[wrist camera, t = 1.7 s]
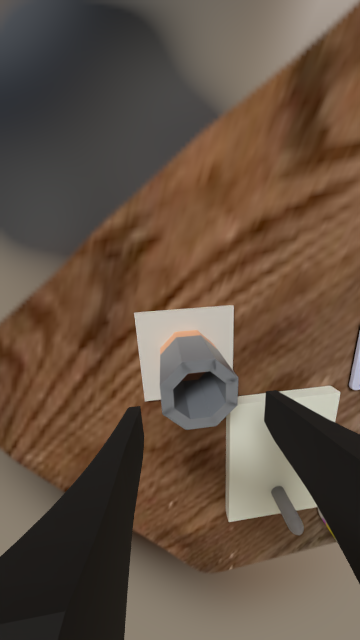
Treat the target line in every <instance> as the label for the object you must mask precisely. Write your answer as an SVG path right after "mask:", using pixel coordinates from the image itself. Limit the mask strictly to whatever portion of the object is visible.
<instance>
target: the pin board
mask: <svg viewBox="0 0 360 640" xmlns="http://www.w3.org/2000/svg"><path fill="white" fill-rule="evenodd" d="M280 393H282V394H284V395H286V396H288V397H289V398H291V399H293V400H295V401H297V402H298V403H300V404H302V405H304V406H305V407H307V408H309V409H311V410H312V411H314V412H316V413H318V414H320V415H322V416H323V417H325V418H327V419H329V420H331V421H333V422H335V419H336V414H337V409H338V403H339V398H340V393H341V392H339V391H338V390H336V389H335V388H333V387H332V386H324V387H315V388H306V389H298V390H289V391H280ZM265 398H266V393H263V394H254V395H246V396H238V405H237V406H236V407H235V408H234V409H233V410H232V411H231V412H230V413H229V414H228V415H227V416H226V513H227V517H228V521H229V522H232V521H238V520H244V519H250V518H256V517H262V516H267V515H273V514H279V513H281V514H282V516H283V518H284V520H285V522H286V524H287V526H288V528H289V530H290V531H291V532H292V533H293V534H295V535H301V534H302V533H303V531H304V525H303V522H302V520H301V518H300V517H299V515H298V513H297V510H303V509H308V508H314V507H317V505H316V503H315V501H314V500H313V498H312V496H311V495H310V493H309V492H308V490H307V488H306V487H305V485H304V484H303V482H302V481H301V479H300V478H299V476H298V475H297V473H296V472H295V471H294V469H293V468H292V466H291V465H290V463H289V462H288V460H287V459H286V457H285V456H284V454H283V453H282V451H281V450H280V448H279V447H278V445H277V444H276V442H275V441H274V439H273V437H272V436H271V434H270V432H269V430H268V428H267V426H266V424H265V422H264V412H265Z"/></svg>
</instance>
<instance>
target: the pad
mask: <svg viewBox="0 0 360 640" xmlns="http://www.w3.org/2000/svg"><path fill="white" fill-rule="evenodd" d="M134 315H135V323H136V332H137V340H138V348H139V356H140V364H141V372H142V381H143V389H144V397H145V401H152V400H161V393H160V348H161V347H162V346H163V345H164V344H165V342H166V341H167V340H168V339H169V338H170V337H171V336H172V335H173V334H174V332H179V331H191V330H198V331H199V332H200V333H201V334H203V335H204V336H205V337H206V338H207V339H208V340H210V341H211V342H212V343H213V344H214V345H215V347H216V348H217V349H218V351H219V352H220V353H221V355H222V356H223V358H224V359H225V360H226V362H227V363H228V364H229V366H230V367H231V368H232V370H233V329H234V306H233V305H229V306H216V307H202V308H189V309H176V310H162V311H149V312H136V313H134Z"/></svg>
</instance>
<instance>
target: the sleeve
mask: <svg viewBox="0 0 360 640" xmlns="http://www.w3.org/2000/svg"><path fill="white" fill-rule="evenodd" d="M160 393H161V404H162V414H163V415H164V416H166V417H167V418H169V419H170V420H172V421H173V422H175V423H176V424H178V425H180V426H181V427H183V428H184V429H186V430H189V429H197V428H205V427H213V426H217V425H218V424H219V423H220V422H221V421H222V420H223V419H224V418H225V417H226V416H227V415H228V414H229V413H230V412H231V411H232V410H233V409H234V408H235V407H236V406H237V405H238V377H237V375H236V374H235V372H234V371H233V370H232V368H231V367H230V366H229V364H228V363H227V362H226V360H225V359H224V358H223V356H222V355H221V353H220V352H219V351H218V349H217V348H216V347H215V345H214V344H213V343H212V342H211V341H210V340H208V339H207V338H206V337H205V336H204V335H203V334H201V333H200V332H199V331H198V330H191V331H179V332H174V334H173V335H172V336H171V337H170V338H169V339H168V340H167V341H166V342H165V344H164V345H163V346H162V347H161V348H160Z"/></svg>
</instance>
